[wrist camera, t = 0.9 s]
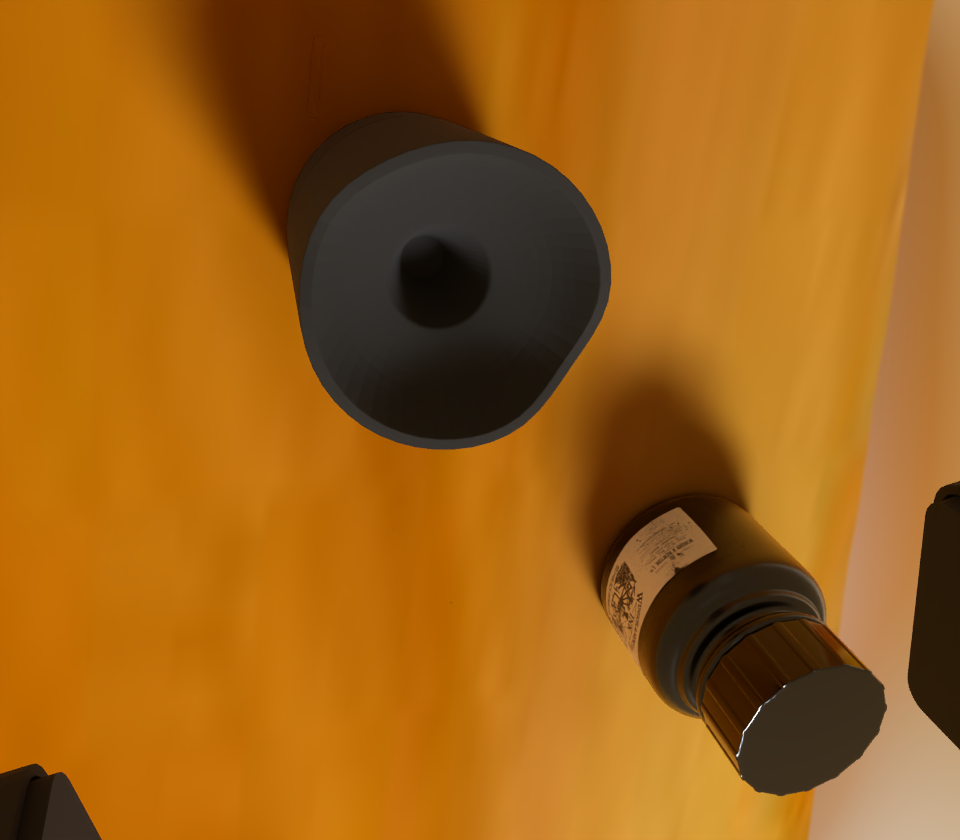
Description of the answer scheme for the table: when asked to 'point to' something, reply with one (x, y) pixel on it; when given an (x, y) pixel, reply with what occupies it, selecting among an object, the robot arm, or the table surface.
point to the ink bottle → (740, 643)
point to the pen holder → (441, 278)
